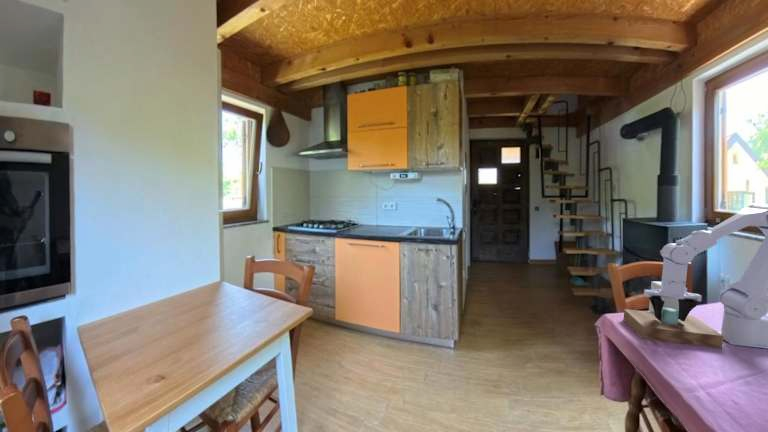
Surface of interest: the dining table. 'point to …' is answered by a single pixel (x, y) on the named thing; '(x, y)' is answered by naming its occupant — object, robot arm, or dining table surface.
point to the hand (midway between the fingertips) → (669, 318)
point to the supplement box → (668, 301)
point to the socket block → (673, 329)
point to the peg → (669, 316)
